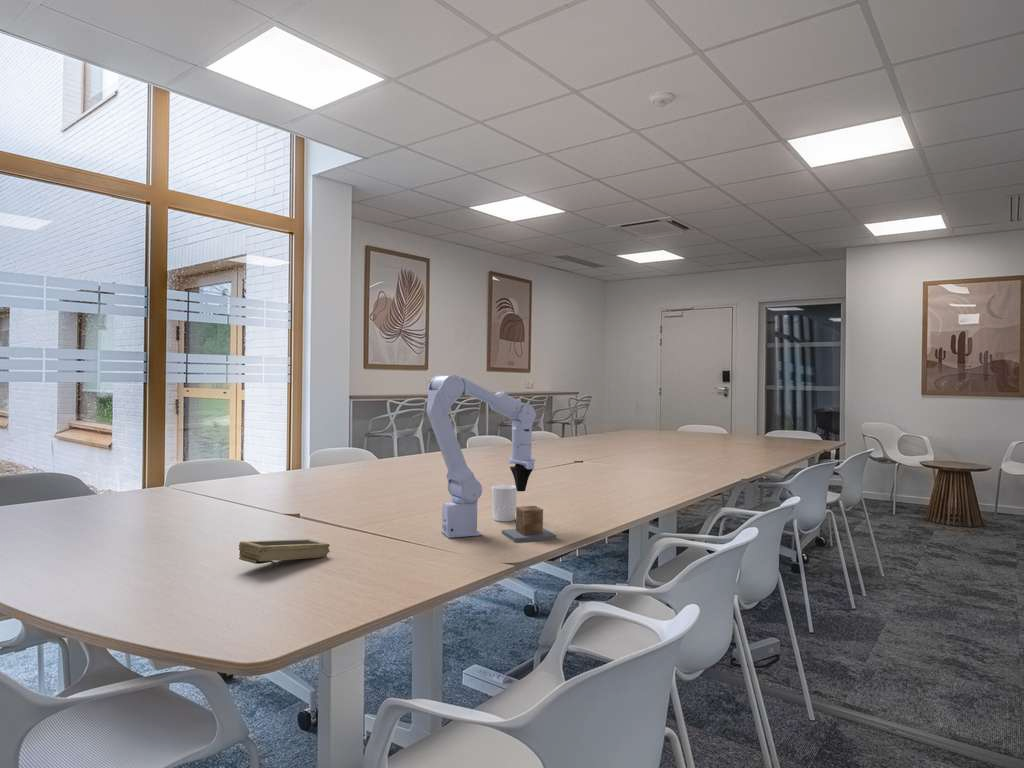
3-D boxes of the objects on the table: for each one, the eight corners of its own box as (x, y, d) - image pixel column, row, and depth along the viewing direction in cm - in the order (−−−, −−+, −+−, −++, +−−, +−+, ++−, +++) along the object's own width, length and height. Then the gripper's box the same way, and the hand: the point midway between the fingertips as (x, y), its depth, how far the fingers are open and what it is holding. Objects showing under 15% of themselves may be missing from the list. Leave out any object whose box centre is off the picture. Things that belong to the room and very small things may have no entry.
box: (233, 564, 134) (238, 540, 135) (314, 558, 153) (317, 537, 154) (258, 571, 130) (262, 547, 130) (338, 564, 149) (341, 543, 149)
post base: (515, 542, 162) (515, 523, 162) (501, 533, 171) (502, 515, 171) (556, 538, 166) (556, 520, 166) (541, 530, 176) (541, 512, 176)
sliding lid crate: (523, 535, 165) (523, 510, 165) (515, 530, 170) (516, 506, 170) (542, 533, 167) (543, 509, 167) (534, 529, 172) (534, 505, 172)
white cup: (487, 521, 187) (488, 487, 187) (495, 515, 194) (496, 484, 195) (512, 523, 185) (513, 489, 185) (519, 517, 192) (520, 485, 192)
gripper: (544, 446, 174) (543, 494, 174) (524, 441, 188) (524, 486, 188) (521, 446, 172) (520, 495, 172) (503, 442, 185) (502, 487, 185)
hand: (520, 491), depth 180 cm, fingers closed
